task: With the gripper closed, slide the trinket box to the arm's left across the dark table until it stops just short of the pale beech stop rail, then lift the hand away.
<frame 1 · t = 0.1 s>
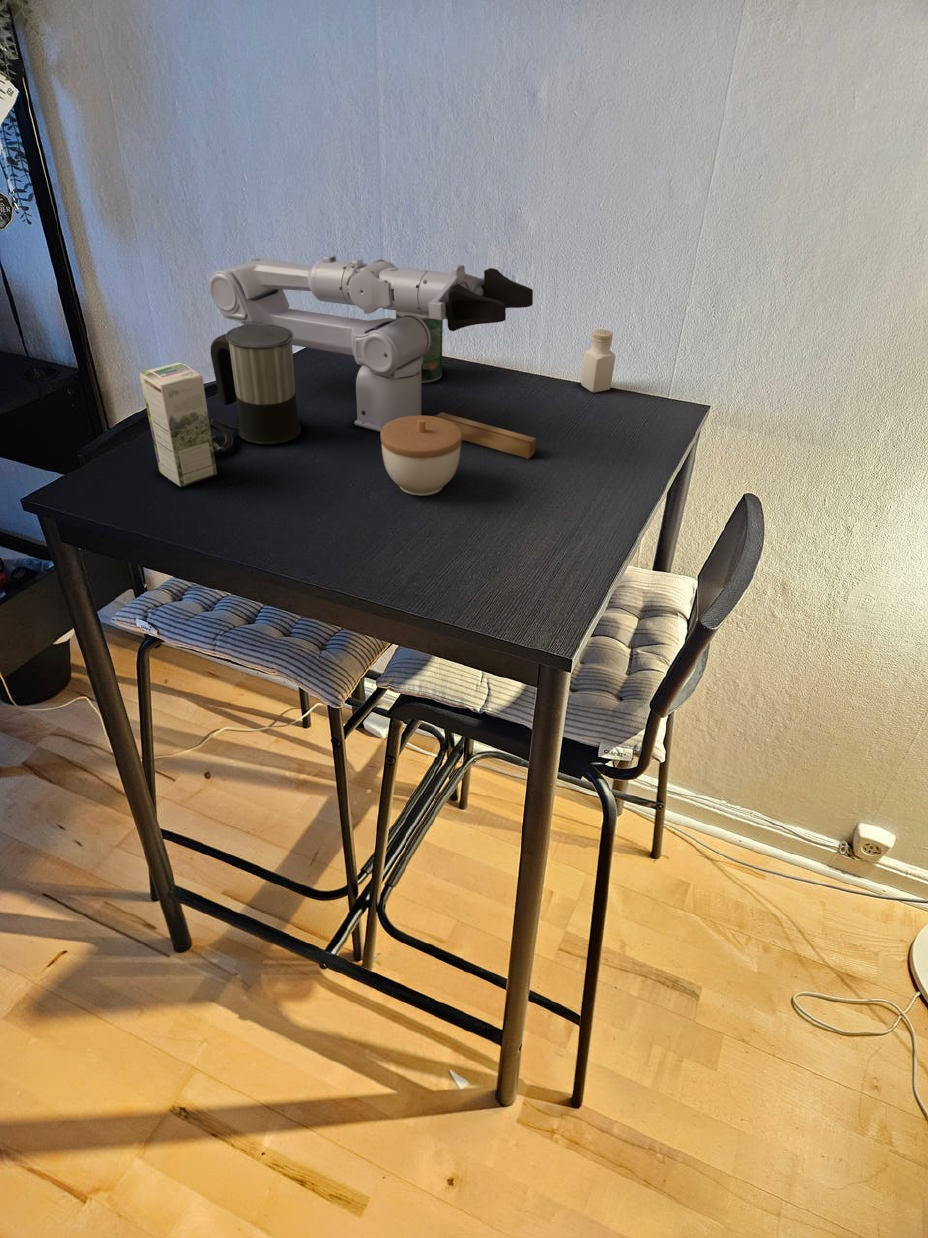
hand: (518, 304, 108), 22 cm above the table, tool horizontal, fingers open, 7 cm apart
canned tomato: (419, 375, 145), on the table
syrup box: (189, 475, 114), on the table
milk frother: (245, 440, 123), on the table
stop rail: (483, 442, 125), on the table
pepper shaker: (595, 389, 143), on the table
trinket box: (421, 485, 114), on the table
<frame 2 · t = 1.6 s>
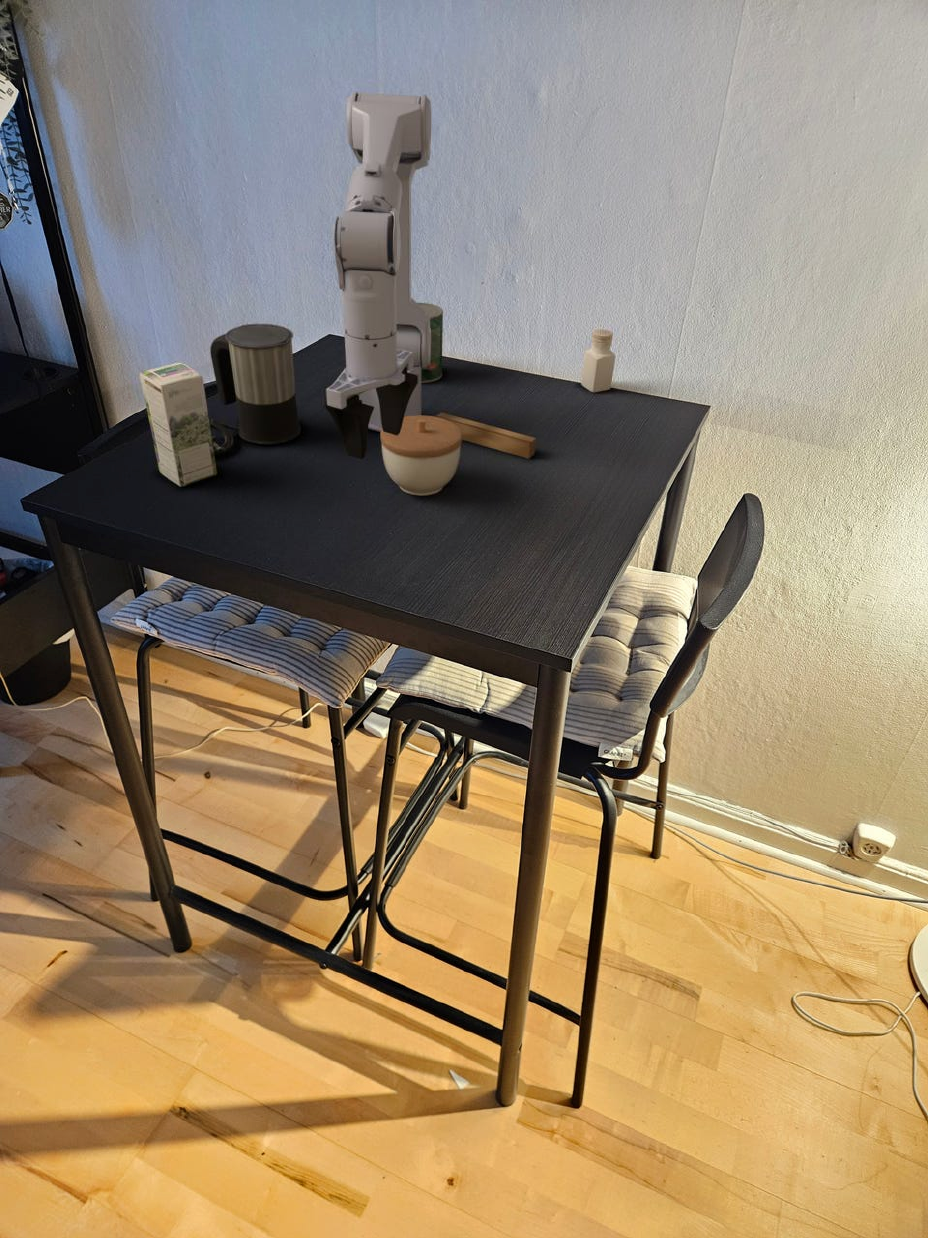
hand: (374, 444, 100), 10 cm above the table, tool pointing down, fingers open, 7 cm apart
nothing on the table moved.
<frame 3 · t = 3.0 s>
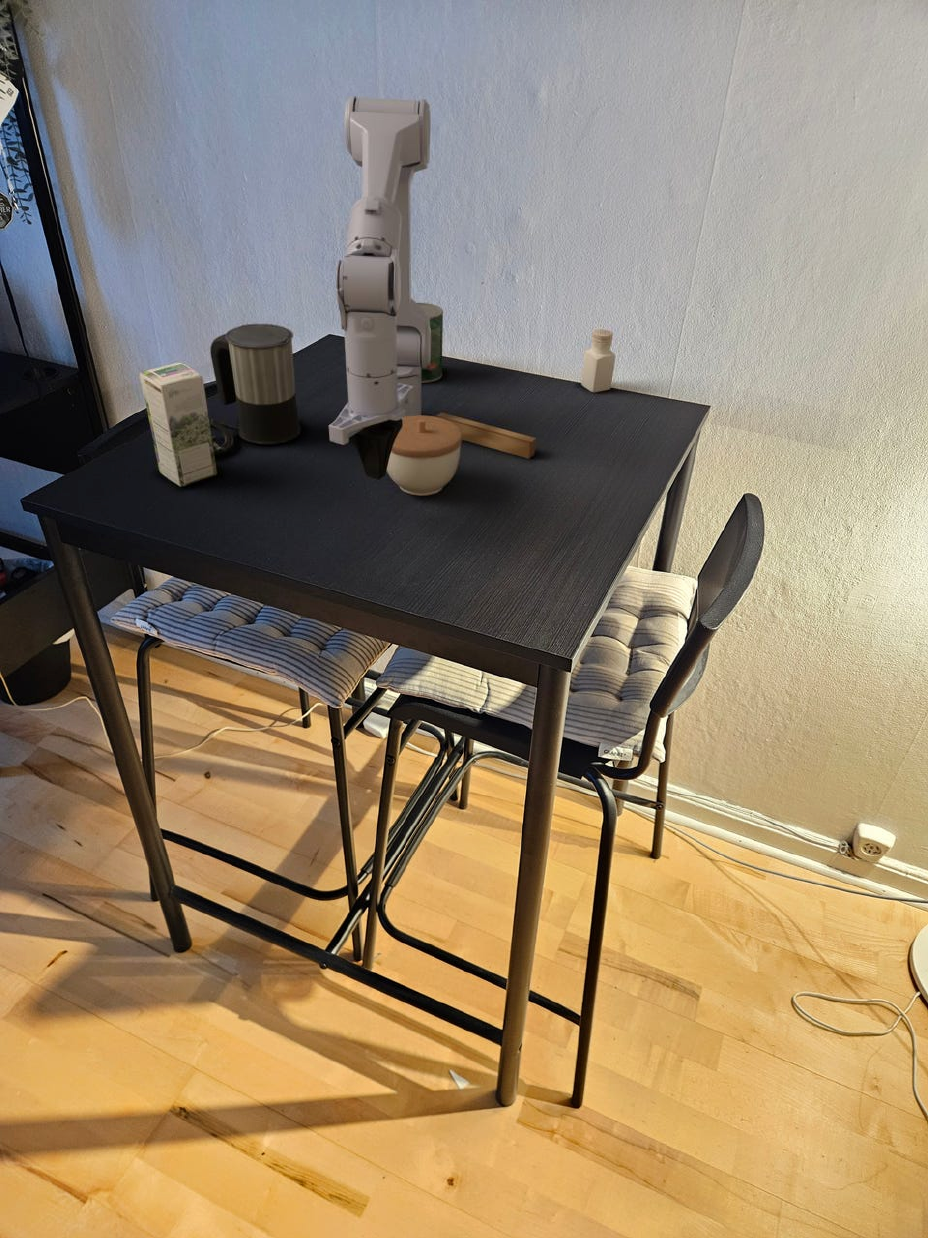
hand: (375, 475, 103), 6 cm above the table, tool pointing down, fingers closed
nothing on the table moved.
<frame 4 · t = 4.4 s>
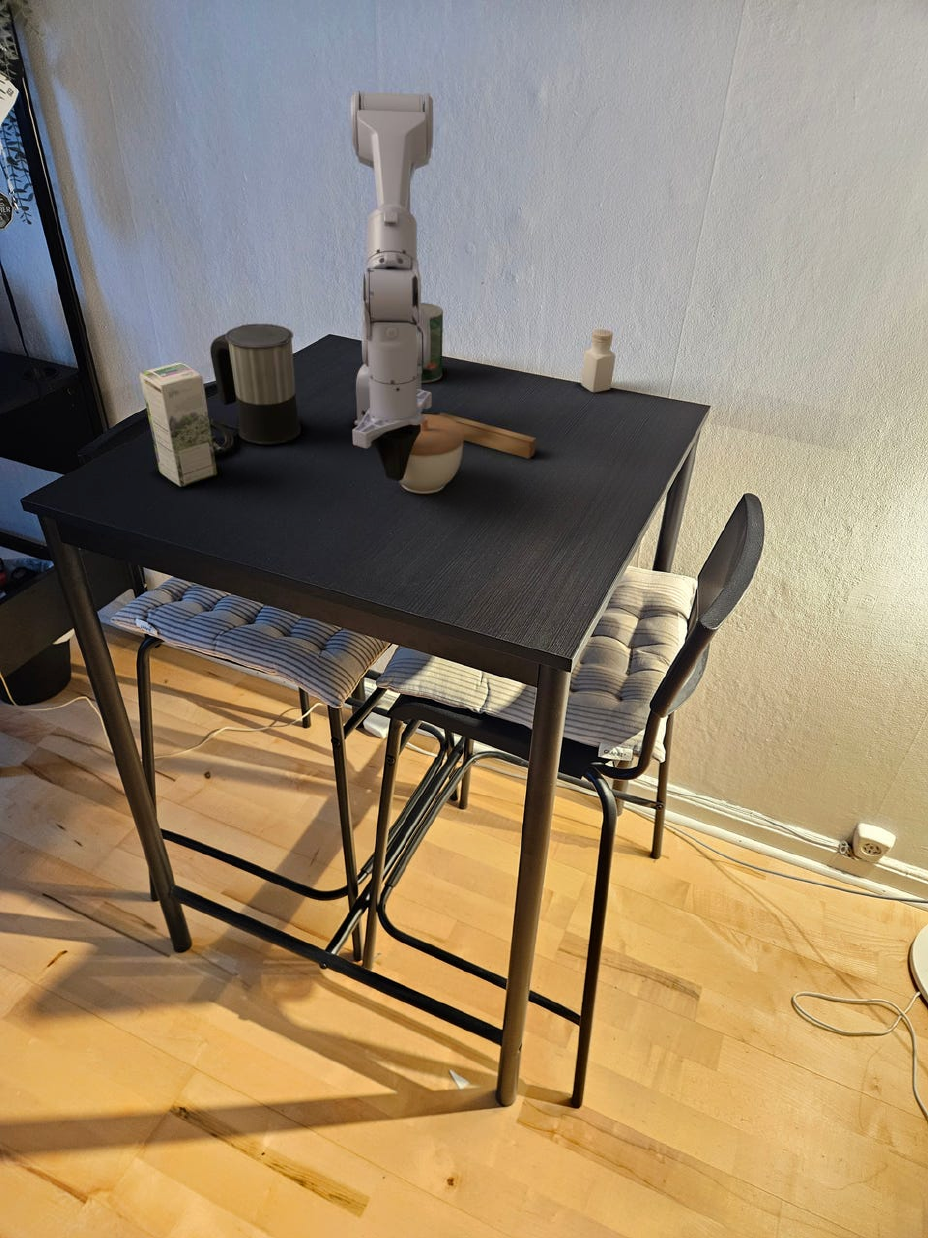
hand: (394, 477, 107), 4 cm above the table, tool pointing down, fingers closed
trinket box: (423, 484, 114), on the table, touching gripper
everything else where it was.
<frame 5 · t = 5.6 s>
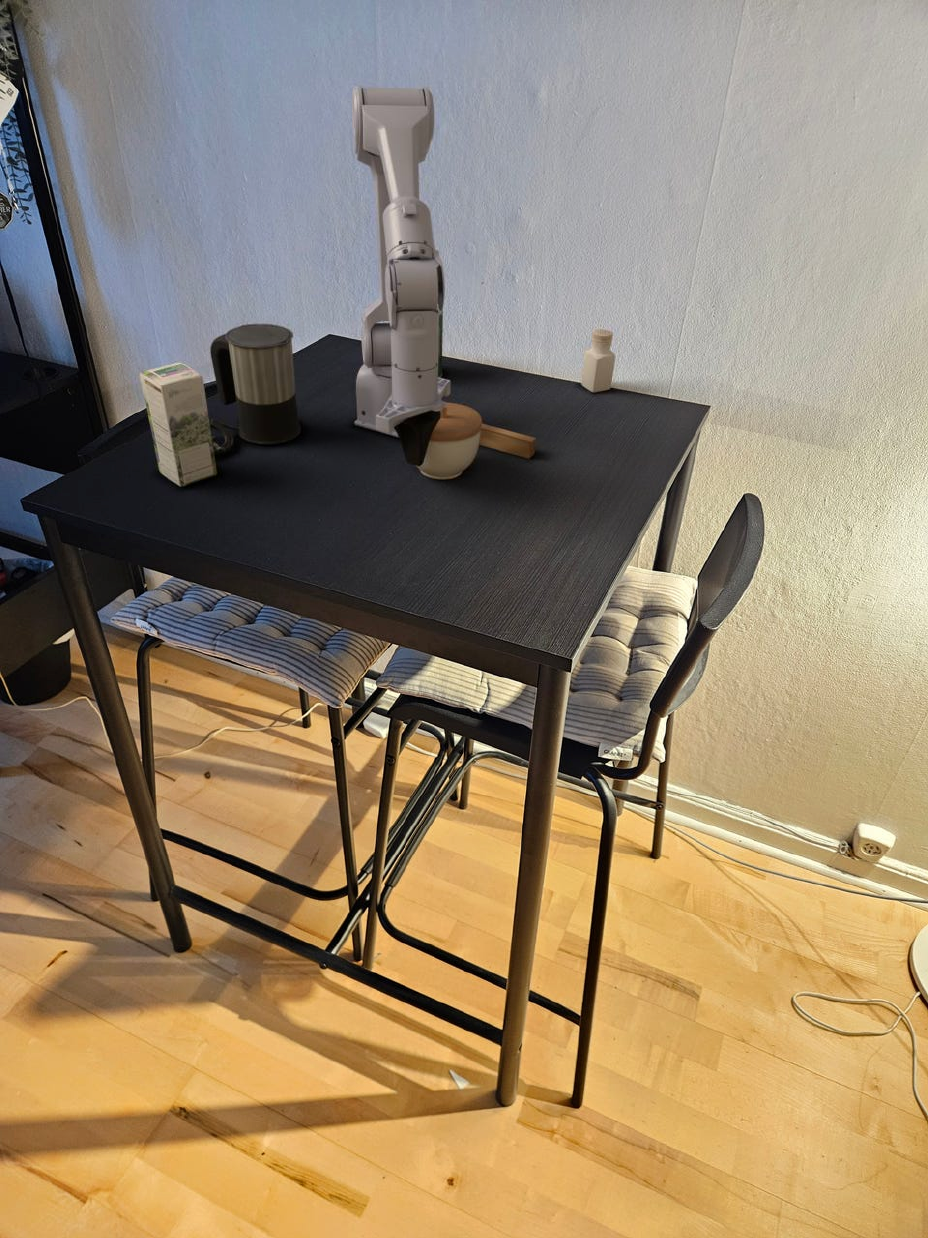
hand: (414, 463, 110), 4 cm above the table, tool pointing down, fingers closed
trinket box: (441, 470, 118), on the table, touching gripper
everything else where it was.
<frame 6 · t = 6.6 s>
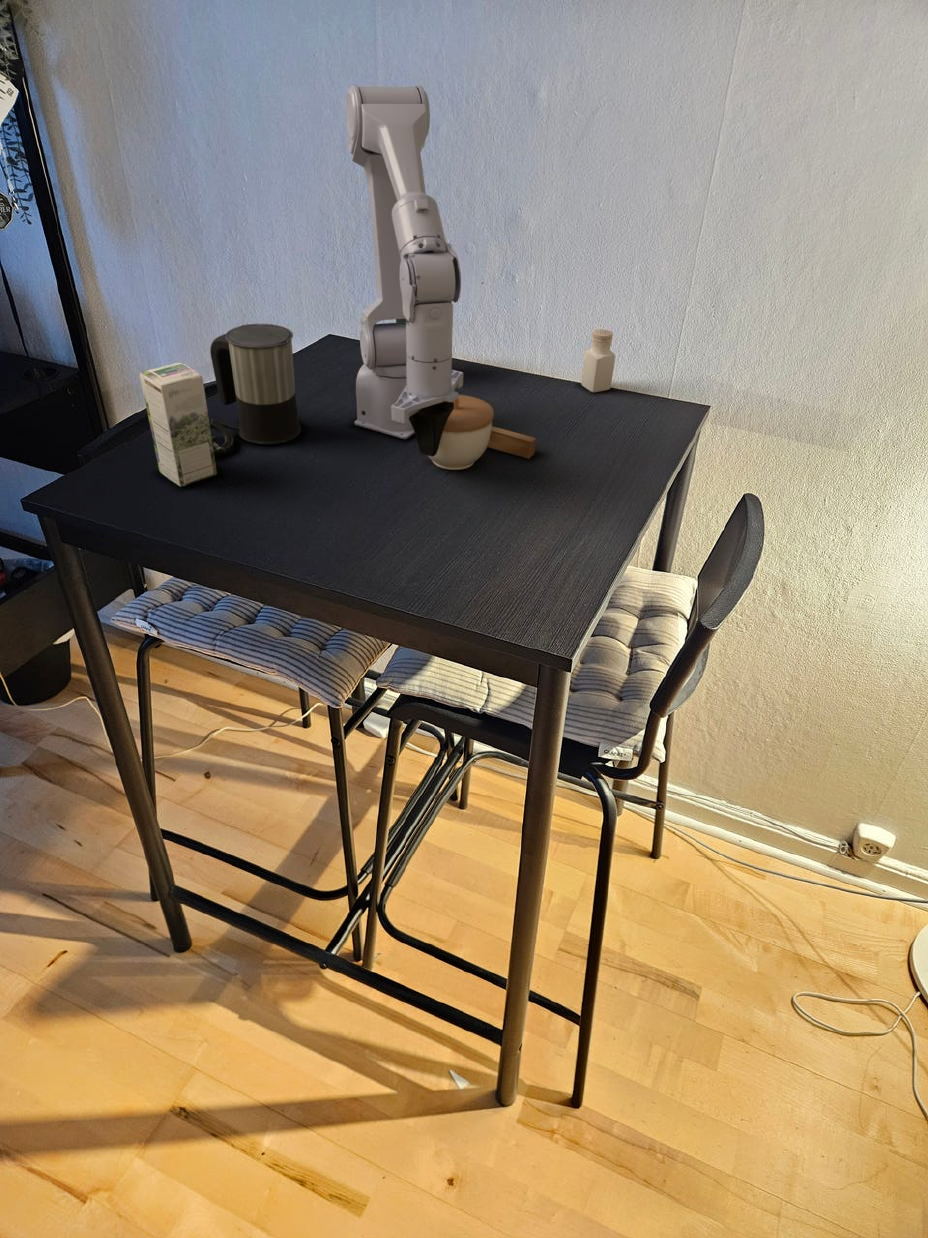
hand: (428, 453, 113), 4 cm above the table, tool pointing down, fingers closed
trinket box: (453, 461, 120), on the table, touching gripper
everything else where it was.
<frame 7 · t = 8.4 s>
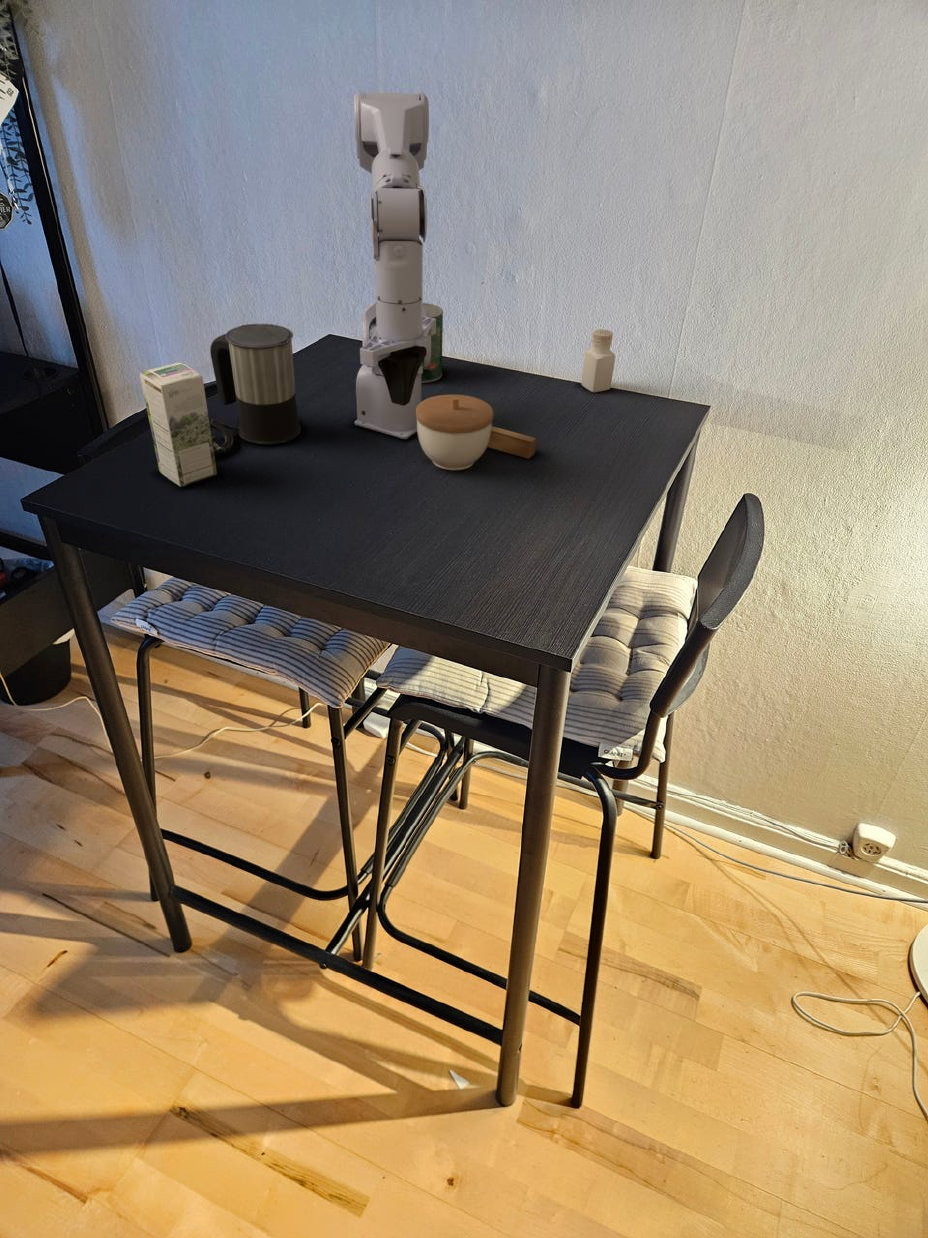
hand: (400, 402, 110), 10 cm above the table, tool pointing down, fingers closed
trinket box: (453, 461, 120), on the table
everything else where it was.
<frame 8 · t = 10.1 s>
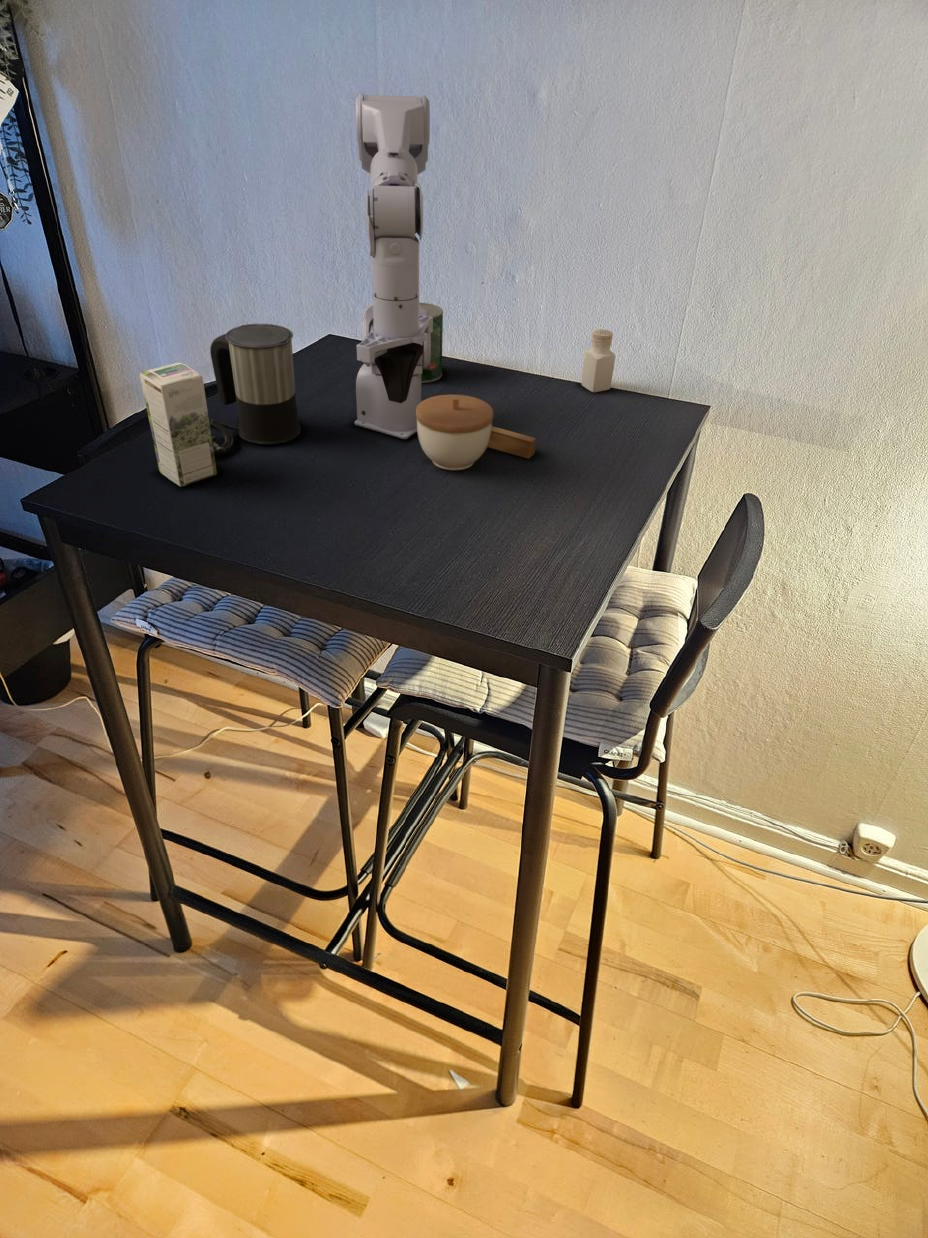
hand: (397, 400, 111), 10 cm above the table, tool pointing down, fingers closed
nothing on the table moved.
at the end: trinket box inside the target area (0.1 cm from its centre), on the table; trinket box tilted 0°; trinket box moved 8.6 cm from its start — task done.
